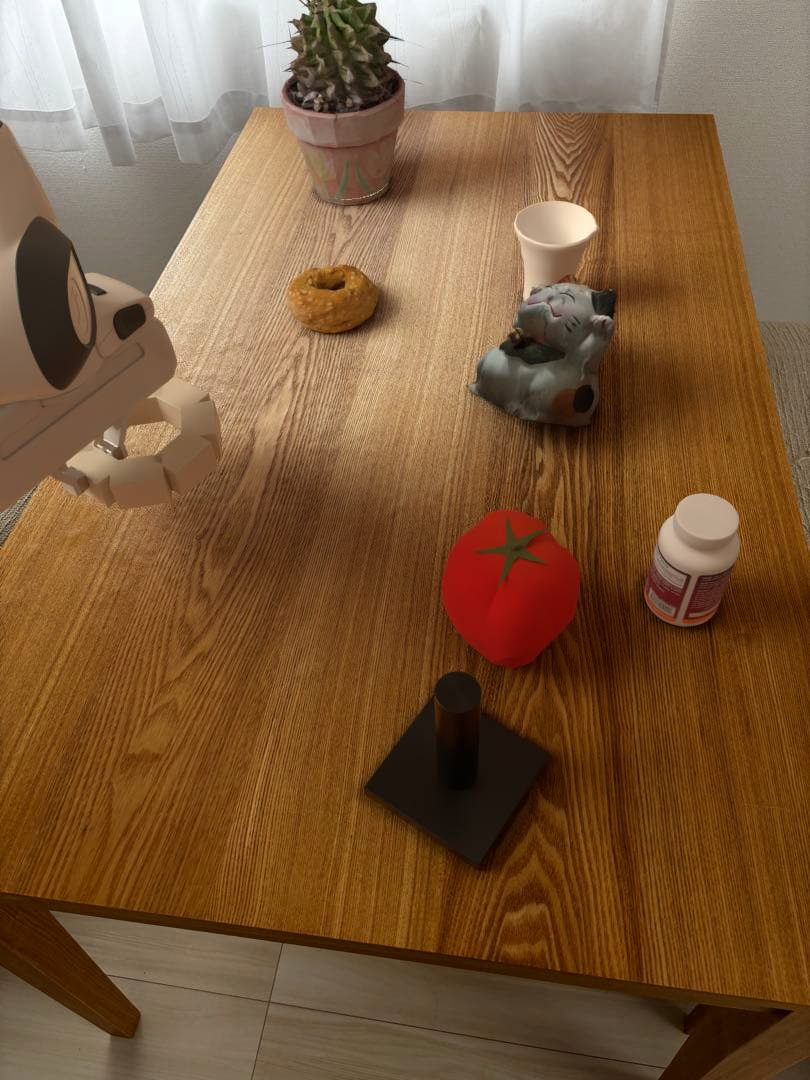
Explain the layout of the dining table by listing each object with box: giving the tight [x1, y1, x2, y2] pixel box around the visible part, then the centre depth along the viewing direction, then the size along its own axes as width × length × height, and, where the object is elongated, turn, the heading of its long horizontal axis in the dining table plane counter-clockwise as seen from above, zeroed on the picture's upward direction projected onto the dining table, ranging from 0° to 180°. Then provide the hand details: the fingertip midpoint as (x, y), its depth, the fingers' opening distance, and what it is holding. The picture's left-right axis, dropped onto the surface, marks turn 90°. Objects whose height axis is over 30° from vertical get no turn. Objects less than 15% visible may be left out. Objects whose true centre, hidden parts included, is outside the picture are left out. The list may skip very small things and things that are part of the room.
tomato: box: [440, 508, 582, 670], centre depth 69 cm, size 11×13×10 cm
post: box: [363, 670, 550, 871], centre depth 60 cm, size 10×10×13 cm
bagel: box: [285, 263, 381, 334], centre depth 99 cm, size 10×11×5 cm
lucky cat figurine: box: [464, 273, 618, 427], centre depth 86 cm, size 15×12×14 cm
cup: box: [513, 200, 601, 302], centre depth 97 cm, size 9×9×10 cm
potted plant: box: [255, 0, 427, 207], centre depth 108 cm, size 18×20×25 cm
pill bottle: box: [643, 493, 741, 627], centre depth 70 cm, size 6×6×11 cm
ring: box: [66, 376, 223, 511], centre depth 77 cm, size 13×13×3 cm
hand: (98, 473), depth 74 cm, fingers closed on ring, 3 cm apart
